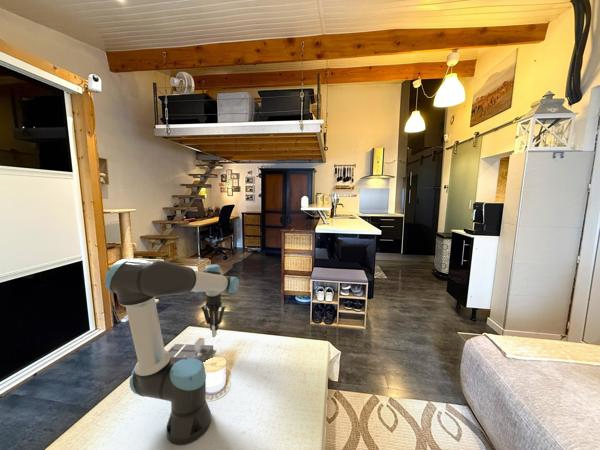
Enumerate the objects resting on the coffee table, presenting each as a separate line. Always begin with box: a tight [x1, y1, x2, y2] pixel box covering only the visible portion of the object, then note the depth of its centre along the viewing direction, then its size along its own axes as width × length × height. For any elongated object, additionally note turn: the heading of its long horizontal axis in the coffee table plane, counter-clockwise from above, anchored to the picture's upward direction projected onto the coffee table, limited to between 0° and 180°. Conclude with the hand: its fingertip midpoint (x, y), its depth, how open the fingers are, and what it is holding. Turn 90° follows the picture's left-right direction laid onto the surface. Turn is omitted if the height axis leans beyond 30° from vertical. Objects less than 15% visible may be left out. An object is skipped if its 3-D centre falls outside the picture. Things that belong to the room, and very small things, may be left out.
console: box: [167, 343, 214, 364], centre depth 132 cm, size 12×22×4 cm, turn 88°
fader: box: [194, 337, 205, 354], centre depth 131 cm, size 5×3×6 cm, turn 178°
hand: (214, 335), depth 131 cm, fingers closed
